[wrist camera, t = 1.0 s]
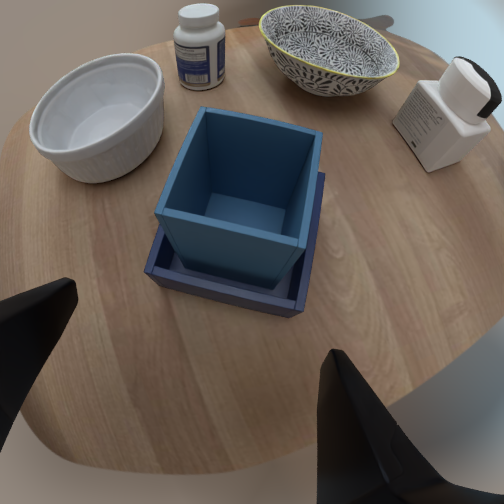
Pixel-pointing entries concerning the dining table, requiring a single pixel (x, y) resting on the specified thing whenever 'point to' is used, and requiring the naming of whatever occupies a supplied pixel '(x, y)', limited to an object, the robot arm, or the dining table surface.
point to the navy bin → (232, 292)
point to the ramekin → (101, 117)
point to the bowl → (327, 50)
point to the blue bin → (241, 196)
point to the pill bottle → (200, 47)
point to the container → (448, 114)
